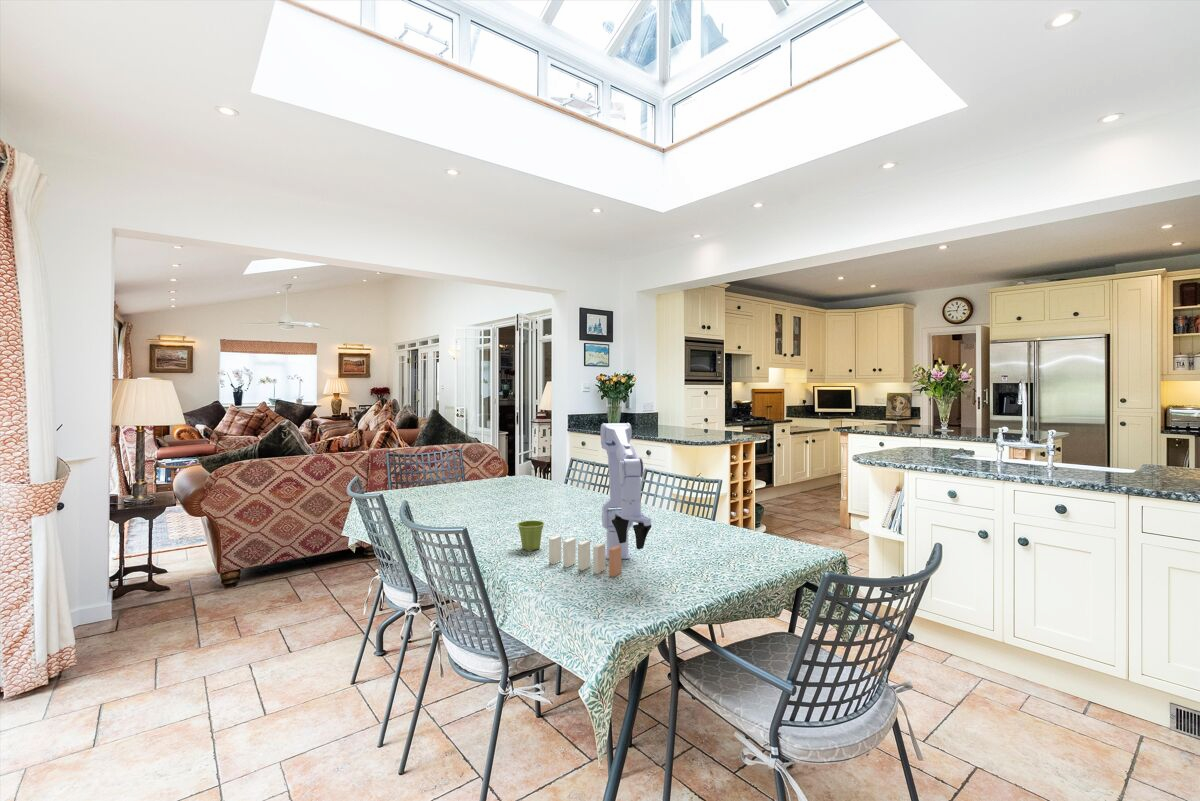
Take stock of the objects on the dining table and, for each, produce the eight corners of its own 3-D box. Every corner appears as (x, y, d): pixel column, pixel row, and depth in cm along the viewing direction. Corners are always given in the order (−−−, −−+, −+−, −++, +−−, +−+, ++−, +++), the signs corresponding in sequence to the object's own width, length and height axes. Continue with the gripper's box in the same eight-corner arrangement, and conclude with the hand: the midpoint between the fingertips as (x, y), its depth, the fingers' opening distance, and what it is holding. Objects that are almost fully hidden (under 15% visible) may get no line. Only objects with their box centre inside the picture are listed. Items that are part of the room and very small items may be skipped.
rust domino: (609, 576, 159) (609, 549, 159) (616, 571, 163) (616, 545, 163) (613, 577, 159) (613, 550, 158) (621, 572, 162) (621, 546, 162)
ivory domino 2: (563, 566, 168) (563, 541, 168) (571, 562, 172) (571, 537, 172) (567, 567, 167) (567, 542, 167) (575, 563, 171) (575, 538, 171)
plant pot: (515, 552, 183) (514, 526, 183) (520, 544, 192) (519, 520, 192) (542, 552, 183) (542, 527, 182) (546, 544, 192) (546, 520, 192)
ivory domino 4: (593, 572, 162) (593, 546, 162) (600, 568, 166) (600, 542, 166) (597, 573, 161) (597, 547, 161) (605, 569, 165) (605, 543, 165)
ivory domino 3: (578, 569, 165) (577, 543, 165) (585, 565, 169) (585, 540, 169) (582, 570, 164) (582, 544, 164) (590, 566, 168) (590, 541, 168)
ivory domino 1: (549, 563, 171) (548, 538, 171) (557, 559, 175) (557, 535, 174) (553, 564, 170) (553, 539, 170) (561, 560, 174) (561, 536, 174)
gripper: (658, 501, 155) (658, 548, 155) (624, 494, 166) (624, 537, 166) (640, 504, 150) (640, 553, 150) (607, 496, 161) (607, 542, 162)
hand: (631, 545), depth 158 cm, fingers open, 7 cm apart
